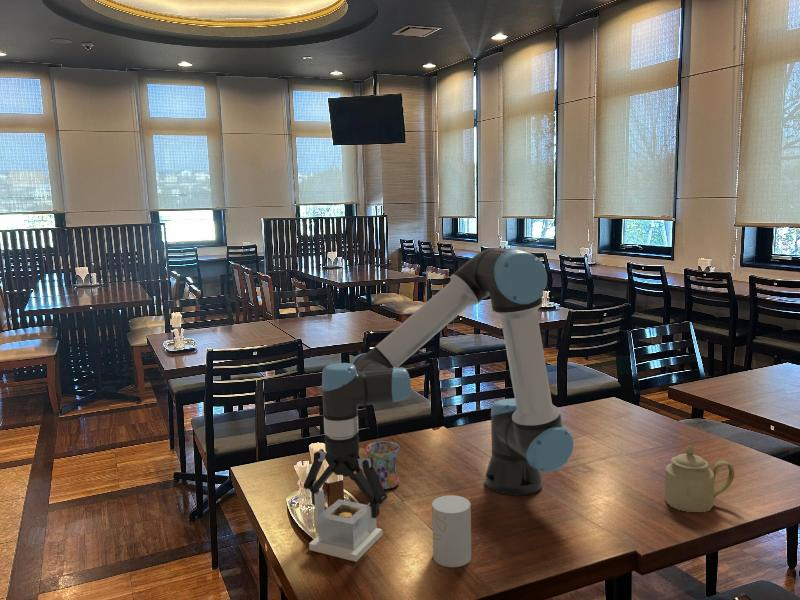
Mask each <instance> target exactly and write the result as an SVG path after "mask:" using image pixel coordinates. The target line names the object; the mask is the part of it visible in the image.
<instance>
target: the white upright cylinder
mask: <svg viewBox="0 0 800 600" xmlns="http://www.w3.org/2000/svg"><path fill="white" fill-rule="evenodd" d="M471 509H472V508H471V502H470V501H469V500H468V499H467V498H465V497H463V496H460V495H454V494H452V495H451V494H450V495H448V494H447V495H443V496H439V497H437V498H435V499H433V501H432V502H431V511H432V514H431V515H432V517H431V518H432V520H431V521H432V523H431V524H432V552H433V553H432V555H433V556H432V557H433V560H434V562H435V563H436V564H439V565H440V566H442V567H448V568H460V567H462V566H466V565H467V564H468V563H470V561H471V559H472V529H471V528H472V526H471V525H472V523H471V522H472V521H471V519H472V517H471V516H472V515H471Z"/></svg>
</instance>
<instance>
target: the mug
mask: <svg viewBox="0 0 800 600" xmlns="http://www.w3.org/2000/svg"><path fill="white" fill-rule="evenodd" d="M400 450H401V447H400V445H399V444H398V443H396V442H393V441H385V440H383V441H375V442H371V443H369V444H368V445H366V446H365V452H366V454H367V457H371V458H372V460H373V467H374V469H375V471H376V474H377V476H378V478H379V480H380V482H381V484H382V487H383V489H384V490H389V489H393V488H395V487H396V486H398V485H399V484H400V479H399V476H398V474H397V468H396V467H397V466H396V464H397V457H398V454H399V452H400Z"/></svg>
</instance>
